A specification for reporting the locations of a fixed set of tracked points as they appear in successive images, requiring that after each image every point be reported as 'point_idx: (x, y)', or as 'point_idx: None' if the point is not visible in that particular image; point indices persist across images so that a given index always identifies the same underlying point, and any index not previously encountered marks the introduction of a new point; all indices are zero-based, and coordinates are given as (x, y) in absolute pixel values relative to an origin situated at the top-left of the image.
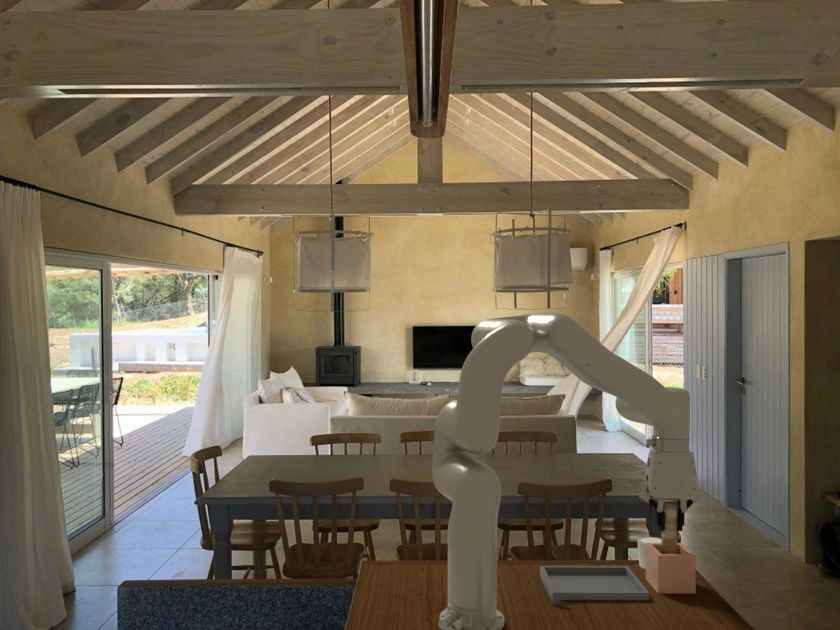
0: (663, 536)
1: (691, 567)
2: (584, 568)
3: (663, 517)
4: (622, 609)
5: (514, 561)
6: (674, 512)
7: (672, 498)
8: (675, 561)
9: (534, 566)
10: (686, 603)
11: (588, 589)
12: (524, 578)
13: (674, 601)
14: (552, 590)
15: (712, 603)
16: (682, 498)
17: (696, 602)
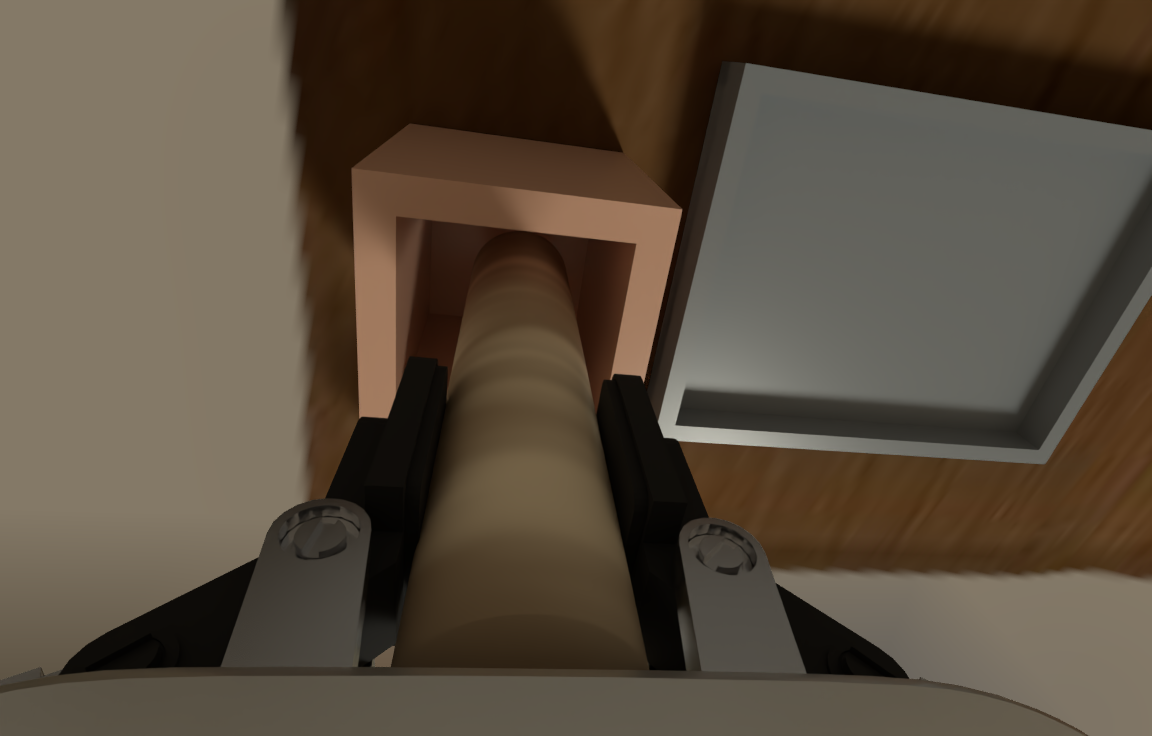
0: (587, 375)
1: (409, 154)
2: (863, 435)
3: (655, 457)
4: (896, 23)
5: (995, 569)
6: (498, 501)
7: (613, 677)
8: (535, 180)
9: (956, 527)
10: (497, 53)
11: (951, 247)
12: (1075, 425)
13: (554, 93)
14: None
15: (335, 29)
16: (328, 677)
17: (430, 59)
